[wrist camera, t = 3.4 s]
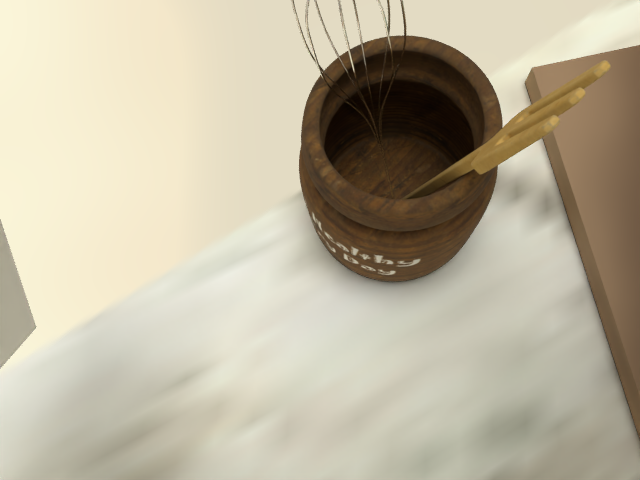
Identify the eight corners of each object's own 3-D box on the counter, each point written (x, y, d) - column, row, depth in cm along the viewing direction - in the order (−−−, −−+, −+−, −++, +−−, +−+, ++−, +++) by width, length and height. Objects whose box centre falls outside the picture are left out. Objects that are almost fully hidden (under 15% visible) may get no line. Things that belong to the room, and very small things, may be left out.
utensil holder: (384, 105, 22) (397, -216, 10) (513, 207, 20) (702, -34, 9) (279, 212, 21) (165, -4, 9) (405, 326, 19) (454, 237, 8)
